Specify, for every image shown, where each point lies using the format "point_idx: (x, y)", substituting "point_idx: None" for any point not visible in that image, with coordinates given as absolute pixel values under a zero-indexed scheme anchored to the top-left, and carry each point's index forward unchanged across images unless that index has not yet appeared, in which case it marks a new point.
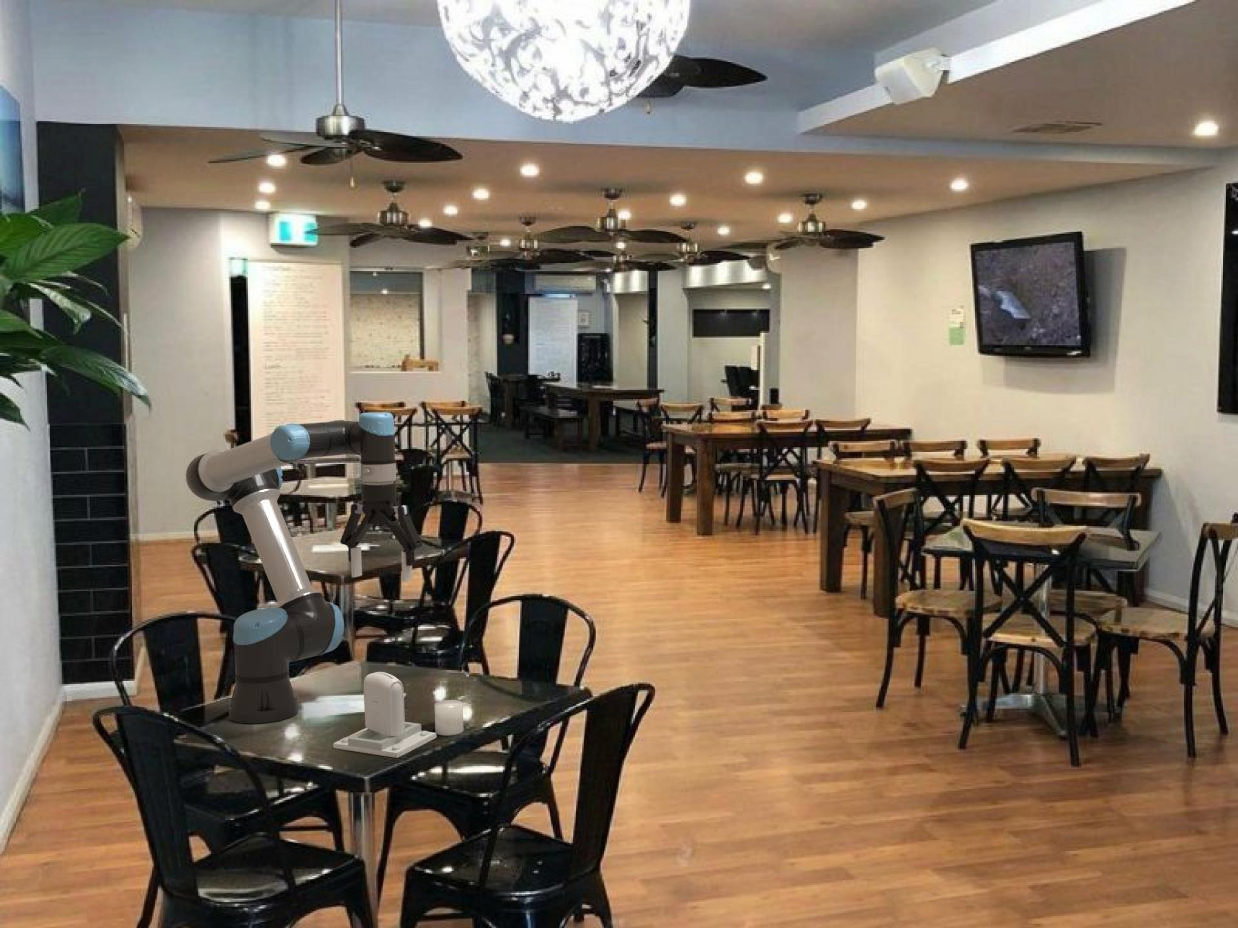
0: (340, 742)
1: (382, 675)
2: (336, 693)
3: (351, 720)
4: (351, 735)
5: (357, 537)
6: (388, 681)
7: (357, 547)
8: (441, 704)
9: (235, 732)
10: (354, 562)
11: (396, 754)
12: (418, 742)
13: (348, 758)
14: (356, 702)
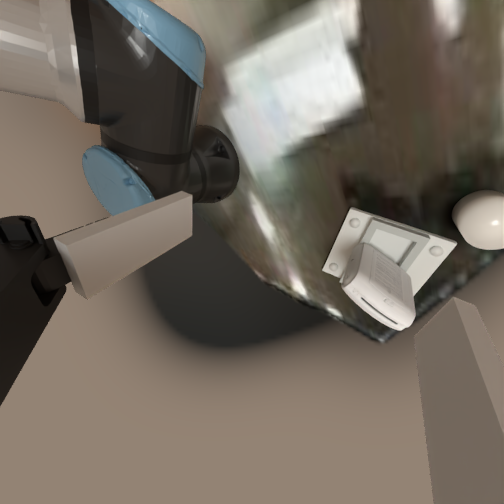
0: (329, 269)
1: (377, 317)
2: (239, 44)
3: (310, 176)
4: (333, 248)
5: (25, 358)
6: (391, 327)
7: (76, 271)
8: (477, 231)
9: (218, 223)
10: (149, 258)
11: None
12: (430, 275)
13: None
14: (286, 87)
